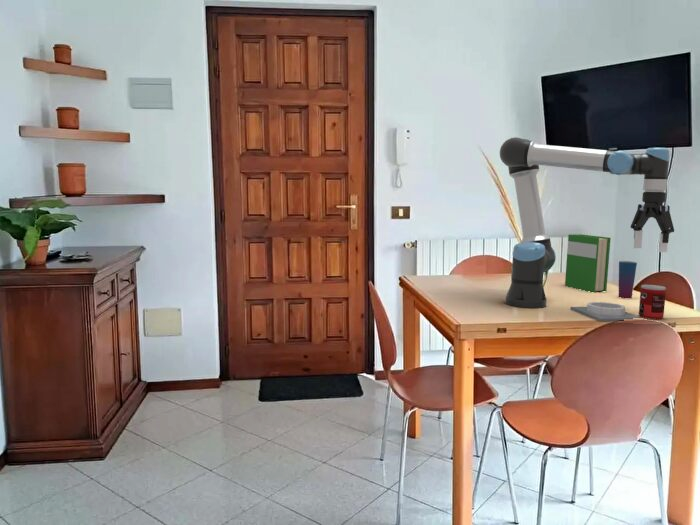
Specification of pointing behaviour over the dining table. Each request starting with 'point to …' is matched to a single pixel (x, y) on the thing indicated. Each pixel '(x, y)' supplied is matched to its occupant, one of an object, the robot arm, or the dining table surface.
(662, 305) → the canned food
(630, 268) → the cup
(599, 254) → the hardback book
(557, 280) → the dining table surface
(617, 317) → the holder
